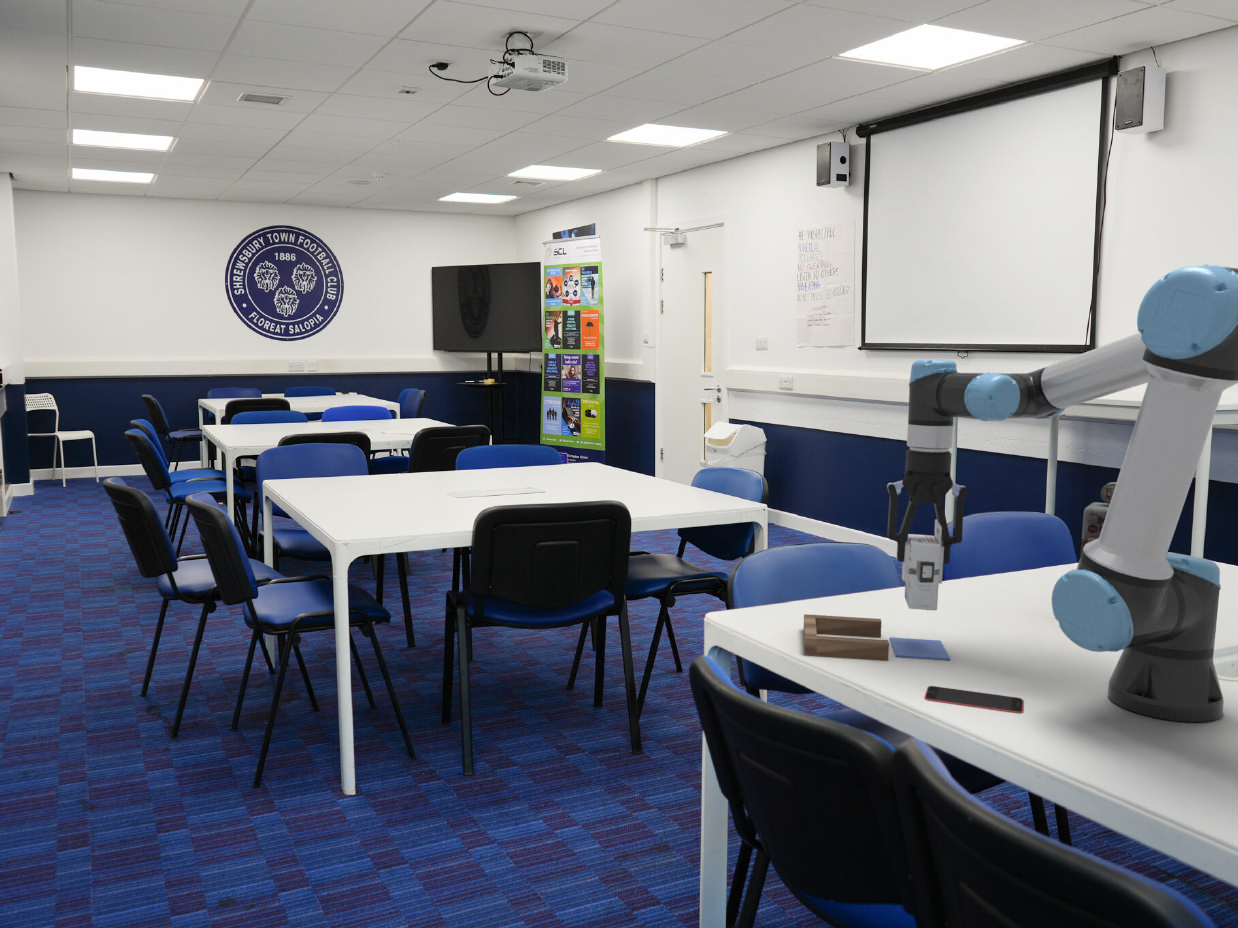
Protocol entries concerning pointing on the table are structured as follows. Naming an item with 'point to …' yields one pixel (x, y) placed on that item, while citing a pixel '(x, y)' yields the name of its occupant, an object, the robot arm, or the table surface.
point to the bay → (842, 644)
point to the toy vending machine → (1096, 515)
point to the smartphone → (975, 699)
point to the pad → (919, 648)
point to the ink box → (924, 570)
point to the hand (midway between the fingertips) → (921, 580)
